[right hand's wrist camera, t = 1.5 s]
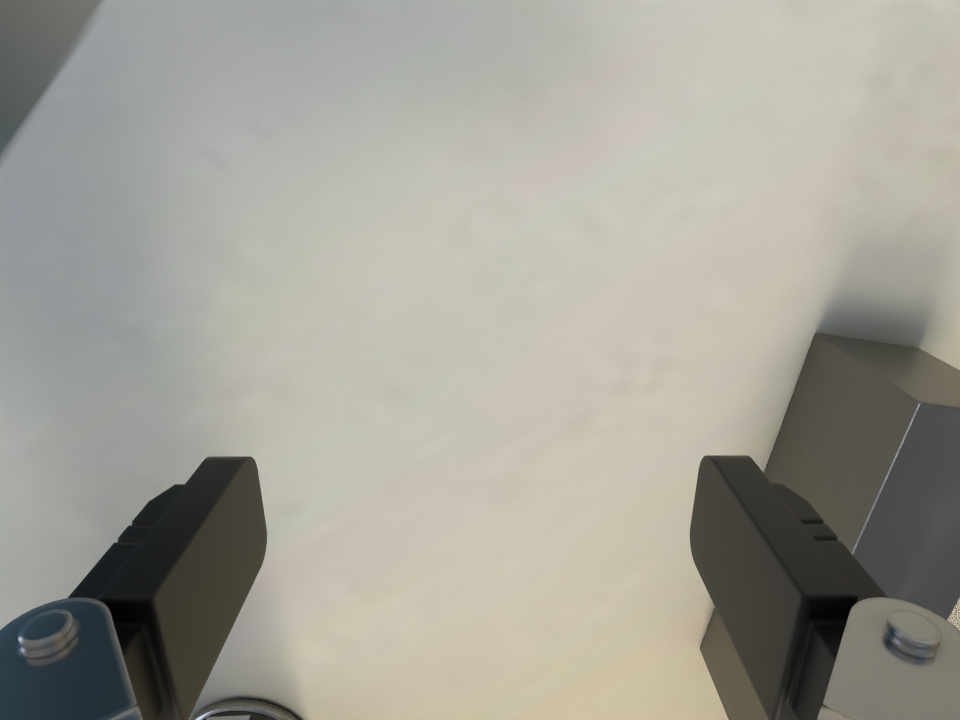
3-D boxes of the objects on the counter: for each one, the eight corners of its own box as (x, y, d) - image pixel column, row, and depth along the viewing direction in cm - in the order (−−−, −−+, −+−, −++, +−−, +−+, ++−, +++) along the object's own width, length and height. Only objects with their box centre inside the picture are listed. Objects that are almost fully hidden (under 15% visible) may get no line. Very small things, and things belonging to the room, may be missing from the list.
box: (815, 332, 35) (919, 402, 26) (919, 348, 35) (1054, 421, 27) (699, 649, 43) (751, 777, 35) (785, 659, 43) (856, 788, 35)
